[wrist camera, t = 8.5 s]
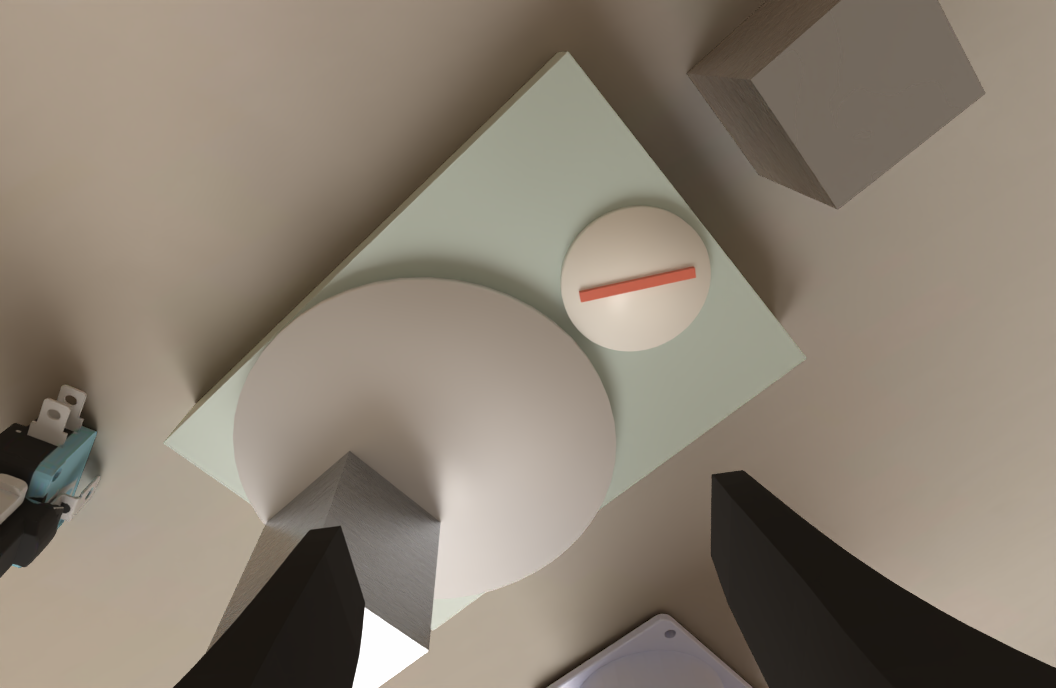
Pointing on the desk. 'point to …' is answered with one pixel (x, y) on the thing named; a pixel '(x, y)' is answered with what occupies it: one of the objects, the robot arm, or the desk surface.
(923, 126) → the block
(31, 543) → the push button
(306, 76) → the desk surface
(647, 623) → the robot arm
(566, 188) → the scale
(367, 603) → the block
